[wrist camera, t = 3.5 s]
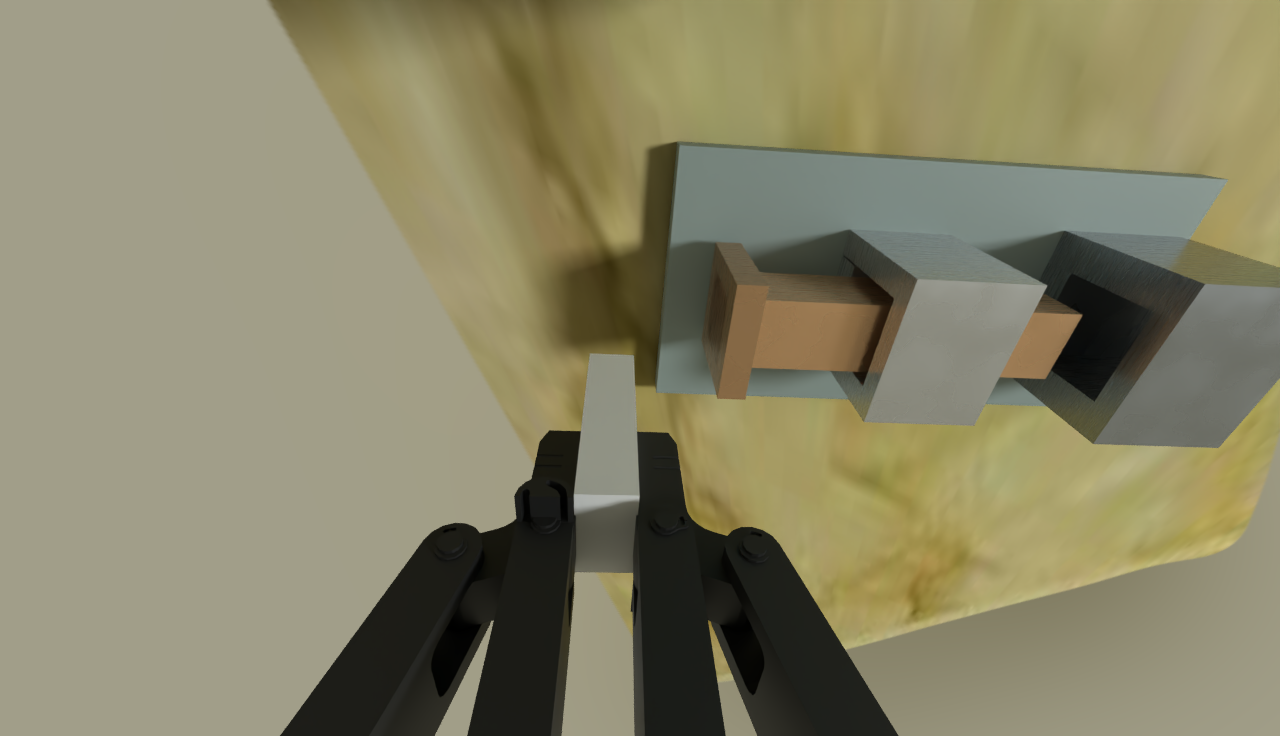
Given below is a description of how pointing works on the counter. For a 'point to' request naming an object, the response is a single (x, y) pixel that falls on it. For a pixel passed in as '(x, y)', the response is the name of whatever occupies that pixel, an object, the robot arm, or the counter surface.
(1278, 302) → the socket
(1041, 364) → the bolt
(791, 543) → the counter surface
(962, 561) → the counter surface
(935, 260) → the sleeve
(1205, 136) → the counter surface
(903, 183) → the board
